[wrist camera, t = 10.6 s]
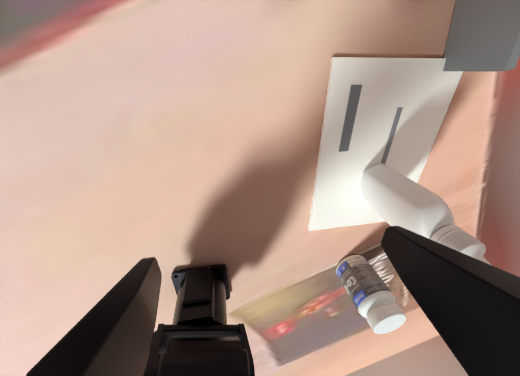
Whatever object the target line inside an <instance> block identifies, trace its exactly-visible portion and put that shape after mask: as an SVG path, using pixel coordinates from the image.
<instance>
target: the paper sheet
mask: <svg viewBox="0 0 520 376" xmlns="http://www.w3.org/2000/svg"><path fill="white" fill-rule="evenodd" d="M445 61H446V58H365V57H332V60H331V68H330V75H329V82H328V89H327V96H326V103H325V110H324V117H323V124H322V131H321V139H320V146H319V153H318V160H317V167H316V174H315V181H314V188H313V195H312V202H311V210H310V217H309V224H308V231H313V230H321V229H329V228H337V227H345V226H353V225H361V224H369V223H377V222H385V220H384V219H383V218H382V217H380V216H379V215H378V214H377V213H376V212H375V211H374V210H373V209H372V208H371V207H370V206H369V205H368V204H367V203H366V201H365V200H364V198H363V195H362V192H361V180H362V175H363V173H364V171H365V170H367V169H368V168H371V167H373V166H375V165H378V164H381V163H382V164H385V165H387V166H388V167H390V168H392V169H394V170H395V171H397V172H399V173H400V174H402V175H404V176H406V177H407V178H409V179H411V180H412V181H414V182H416V183H417V182H418V180H419V178H420V175H421V173H422V170H423V168H424V165H425V163H426V161H427V158H428V156H429V153H430V151H431V148H432V146H433V144H434V141H435V139H436V136H437V134H438V131H439V129H440V127H441V124H442V122H443V119H444V117H445V114H446V112H447V110H448V107H449V105H450V102H451V100H452V97H453V95H454V93H455V90H456V88H457V85H458V83H459V80H460V78H461V76H462V73H463V71H443V69H444V65H445Z"/></svg>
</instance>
